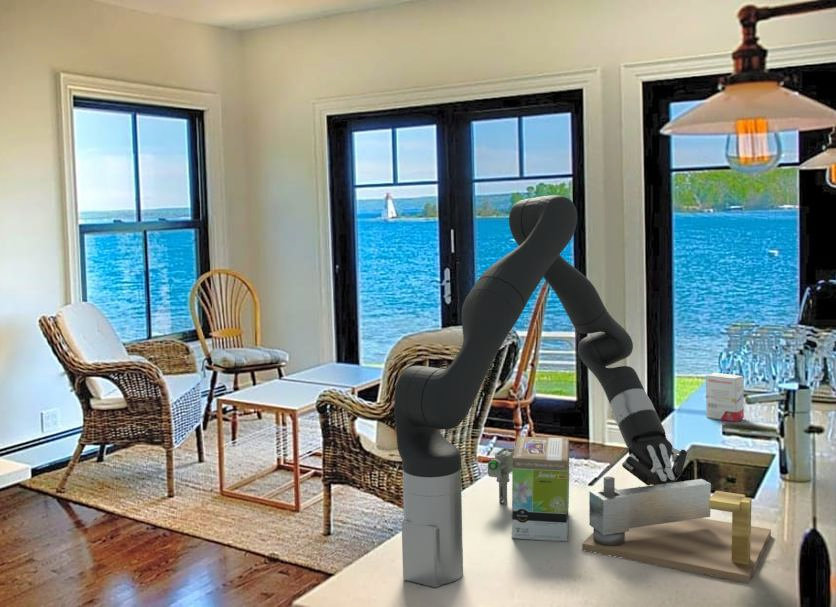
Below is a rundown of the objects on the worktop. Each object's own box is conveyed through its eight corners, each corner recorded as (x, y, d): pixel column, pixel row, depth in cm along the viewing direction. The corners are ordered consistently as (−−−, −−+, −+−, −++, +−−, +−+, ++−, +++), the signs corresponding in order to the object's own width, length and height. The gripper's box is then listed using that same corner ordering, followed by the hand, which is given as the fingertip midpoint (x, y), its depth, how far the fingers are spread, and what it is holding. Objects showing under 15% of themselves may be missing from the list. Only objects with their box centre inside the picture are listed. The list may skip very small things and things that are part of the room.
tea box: (569, 542, 145) (568, 459, 143) (510, 540, 147) (509, 457, 145) (569, 511, 160) (569, 435, 158) (516, 509, 161) (515, 434, 160)
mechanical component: (486, 510, 161) (485, 460, 160) (505, 494, 170) (505, 446, 169) (500, 513, 160) (499, 461, 158) (519, 496, 169) (519, 447, 167)
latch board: (748, 583, 128) (750, 507, 126) (582, 550, 141) (581, 481, 140) (770, 535, 145) (772, 468, 144) (620, 510, 159) (621, 449, 158)
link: (603, 535, 139) (603, 500, 138) (589, 525, 144) (589, 491, 143) (714, 518, 145) (714, 485, 144) (697, 509, 150) (698, 477, 149)
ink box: (744, 419, 224) (745, 375, 223) (736, 422, 221) (736, 378, 219) (713, 414, 230) (714, 371, 229) (704, 417, 227) (705, 374, 226)
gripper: (613, 411, 153) (650, 498, 143) (675, 404, 157) (716, 488, 147) (598, 432, 159) (633, 517, 148) (659, 425, 162) (697, 507, 152)
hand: (674, 503), depth 148 cm, fingers closed
